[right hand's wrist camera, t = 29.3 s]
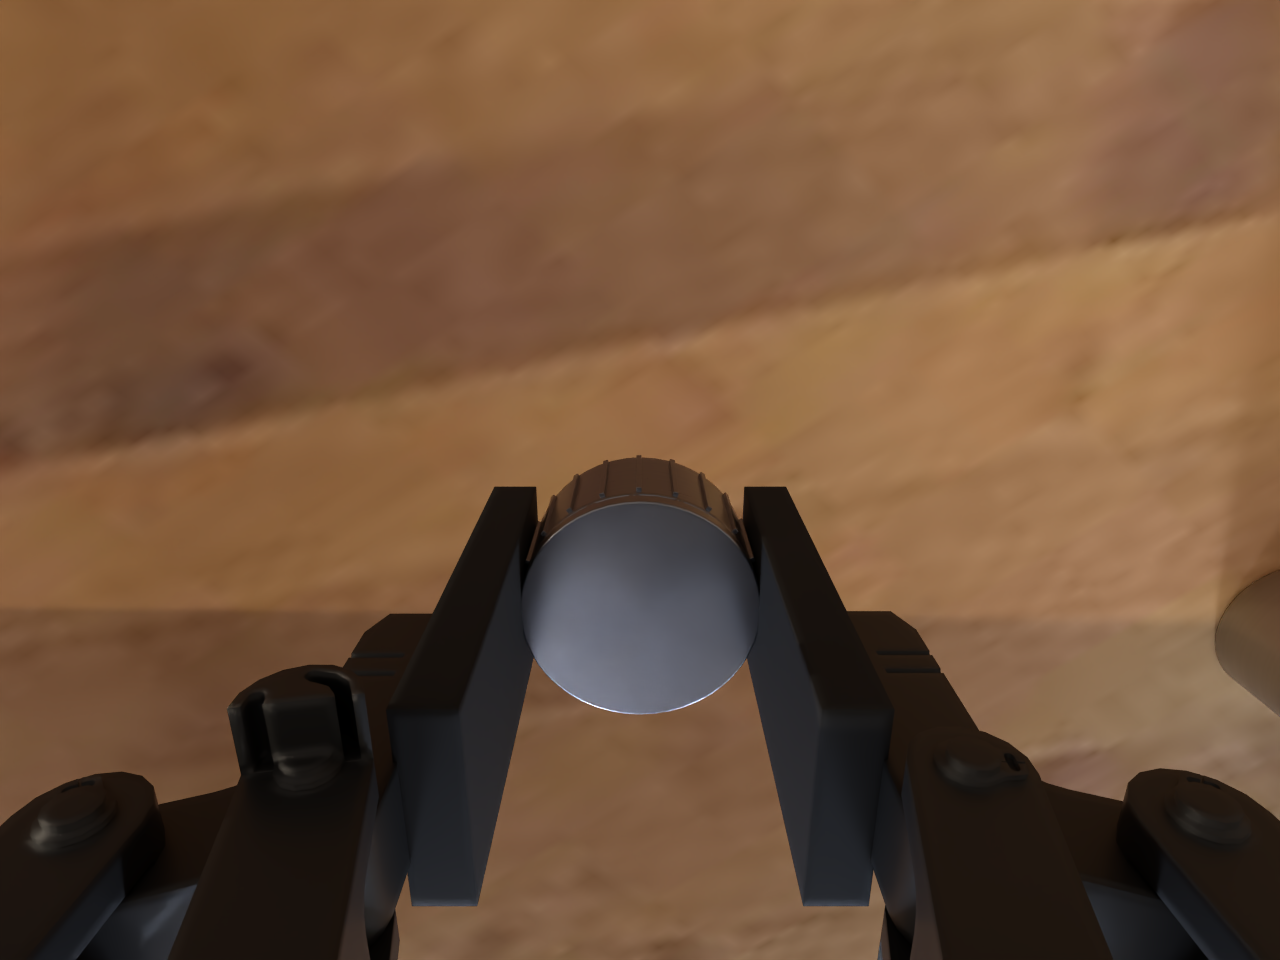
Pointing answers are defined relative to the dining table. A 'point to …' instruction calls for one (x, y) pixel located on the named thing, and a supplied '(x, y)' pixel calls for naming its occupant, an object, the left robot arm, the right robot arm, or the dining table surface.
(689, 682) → the cap
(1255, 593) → the bottle
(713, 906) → the dining table surface
